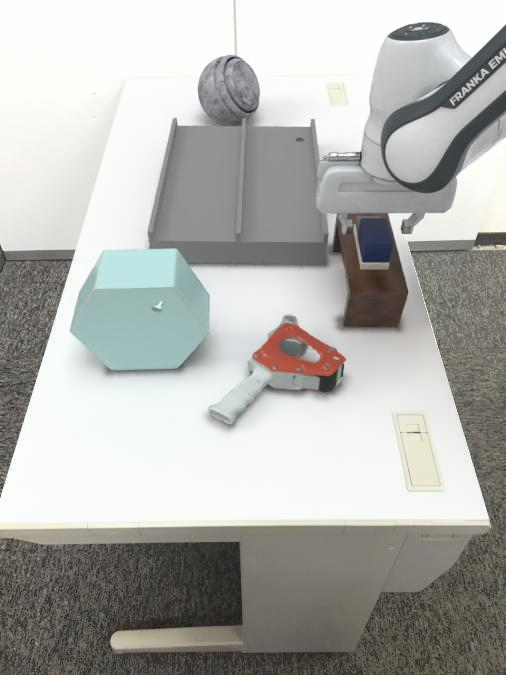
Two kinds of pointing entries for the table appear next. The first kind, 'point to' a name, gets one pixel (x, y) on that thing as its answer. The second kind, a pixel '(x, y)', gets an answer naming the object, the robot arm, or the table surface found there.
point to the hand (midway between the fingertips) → (376, 231)
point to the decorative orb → (228, 90)
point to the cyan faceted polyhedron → (141, 309)
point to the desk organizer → (240, 195)
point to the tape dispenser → (283, 369)
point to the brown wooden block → (370, 283)
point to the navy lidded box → (373, 242)
